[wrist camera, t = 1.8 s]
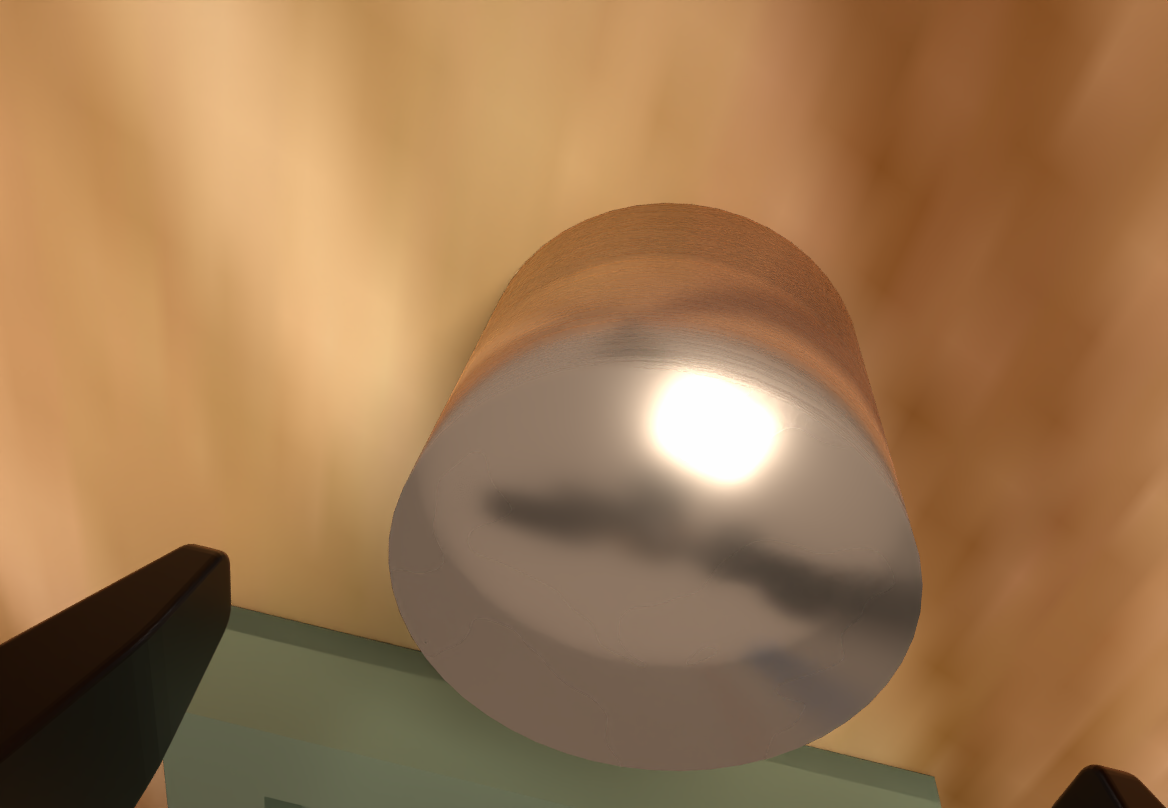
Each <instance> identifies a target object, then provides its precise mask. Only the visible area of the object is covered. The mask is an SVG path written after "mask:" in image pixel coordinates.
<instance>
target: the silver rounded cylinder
mask: <svg viewBox="0 0 1168 808" xmlns="http://www.w3.org/2000/svg"><path fill="white" fill-rule="evenodd" d="M389 569H390V576H391V583H392V589H393V592H394V595H395V598H396V602H397V605H398V608H399V611H400V614H401V616H402V618H403V620H404V622H405V624H406V626H407V628H408V630H409V632H410V634H411V637H412V638H413V640H414V641H415V643H416V644H417V646H418V647H419V649H420V650H421V652H422V653H423V655H424V656H425V658H426V659H427V660H428V661H429V662H430V664H431V665H432V666H433V667H434V668H435V669H436V671H437V672H438V673H439V674H440V675H441V676H442V678H443V679H444V680H445V681H446V682H447V683H448V684H450V685H451V686H452V687H453V688H454V689H455V690H456V691H457V692H458V693H459V694H460V695H461V696H462V697H464V698H465V699H466V700H467V701H469V702H470V703H471V704H473V705H474V706H475V707H477V708H478V709H479V710H481V711H482V712H483V713H485V714H486V715H488V716H489V717H491V718H493V719H494V720H496V721H498V722H499V723H501V724H502V725H504V726H506V727H507V728H509V729H511V730H513V731H515V732H517V733H519V734H521V735H523V736H525V737H527V738H529V739H531V740H533V741H535V742H537V743H540V744H543V745H545V746H548V747H551V748H553V749H556V750H558V751H561V752H564V753H567V754H570V755H574V756H577V757H581V758H584V759H588V760H591V761H595V762H600V763H605V764H610V765H615V766H620V767H628V768H637V769H645V770H661V771H693V770H711V769H718V768H725V767H732V766H739V765H744V764H748V763H752V762H756V761H761V760H765V759H769V758H772V757H775V756H778V755H781V754H783V753H786V752H789V751H792V750H795V749H798V748H800V747H802V746H804V745H806V744H808V743H810V742H812V741H815V740H817V739H819V738H821V737H823V736H825V735H826V734H828V733H829V732H831V731H833V730H834V729H836V728H837V727H839V726H841V725H842V724H844V723H845V722H847V721H848V720H850V719H851V718H852V717H853V716H854V715H856V714H857V713H858V712H859V711H861V710H862V709H863V708H864V707H866V706H867V705H868V704H869V703H870V702H871V701H872V700H873V699H874V698H875V697H876V695H877V694H878V693H879V692H880V691H881V690H882V689H883V688H884V687H885V686H886V685H887V683H888V682H889V681H890V679H891V678H892V676H893V675H894V673H895V672H896V670H897V669H898V667H899V666H900V664H901V663H902V661H903V659H904V657H905V655H906V653H907V650H908V648H909V646H910V644H911V642H912V640H913V637H914V634H915V630H916V626H917V622H918V619H919V615H920V609H921V597H922V576H921V566H920V557H919V553H918V550H917V546H916V543H915V539H914V536H913V532H912V529H911V525H910V522H909V519H908V515H907V512H906V508H905V505H904V501H903V498H902V494H901V491H900V487H899V484H898V480H897V477H896V473H895V470H894V466H893V463H892V459H891V456H890V452H889V449H888V445H887V442H886V438H885V435H884V431H883V428H882V424H881V421H880V417H879V414H878V410H877V407H876V404H875V400H874V397H873V393H872V390H871V386H870V383H869V379H868V376H867V372H866V369H865V365H864V362H863V358H862V355H861V351H860V348H859V344H858V341H857V337H856V334H855V330H854V327H853V324H852V320H851V318H850V315H849V313H848V311H847V309H846V307H845V305H844V303H843V300H842V298H841V297H840V295H839V294H838V292H837V291H836V289H835V288H834V286H833V284H832V283H831V281H830V280H829V278H828V277H827V276H826V275H825V274H824V273H823V272H822V270H821V269H820V268H819V267H818V266H817V265H816V264H815V263H814V261H813V260H812V259H811V258H810V257H808V256H807V255H806V254H805V253H804V252H802V251H801V250H800V249H799V248H798V247H796V246H795V245H794V244H793V243H792V242H790V241H789V240H787V239H786V238H784V237H782V236H781V235H779V234H778V233H776V232H774V231H773V230H771V229H770V228H768V227H765V226H763V225H761V224H759V223H757V222H755V221H752V220H750V219H748V218H746V217H743V216H740V215H737V214H733V213H730V212H727V211H724V210H720V209H716V208H710V207H705V206H699V205H693V204H674V203H659V204H647V205H636V206H631V207H627V208H622V209H618V210H613V211H609V212H606V213H604V214H601V215H598V216H595V217H592V218H590V219H587V220H585V221H583V222H581V223H579V224H577V225H575V226H573V227H571V228H569V229H567V230H565V231H563V232H562V233H560V234H559V235H558V236H556V237H555V238H553V239H552V240H550V241H549V242H548V243H546V244H545V245H543V246H542V247H541V248H540V249H539V250H538V251H537V252H536V253H535V254H534V255H533V256H532V257H530V258H529V259H528V260H527V261H526V262H525V263H524V265H523V266H522V267H521V268H520V270H519V271H518V272H517V273H516V275H515V276H514V277H513V278H512V280H511V281H510V283H509V285H508V286H507V288H506V290H505V291H504V293H503V295H502V297H501V298H500V300H499V302H498V304H497V306H496V308H495V310H494V312H493V314H492V316H491V318H490V320H489V322H488V323H487V325H486V327H485V329H484V331H483V333H482V335H481V337H480V339H479V341H478V343H477V345H476V347H475V349H474V351H473V353H472V355H471V357H470V359H469V361H468V363H467V364H466V366H465V368H464V370H463V372H462V374H461V376H460V378H459V380H458V382H457V384H456V386H455V388H454V390H453V392H452V394H451V396H450V398H449V400H448V402H447V404H446V405H445V407H444V409H443V411H442V413H441V415H440V417H439V419H438V421H437V423H436V425H435V427H434V429H433V431H432V433H431V435H430V437H429V439H428V441H427V443H426V445H425V446H424V448H423V450H422V452H421V454H420V456H419V458H418V460H417V462H416V464H415V466H414V468H413V470H412V472H411V474H410V476H409V478H408V480H407V482H406V484H405V486H404V487H403V490H402V493H401V495H400V498H399V501H398V503H397V506H396V508H395V511H394V515H393V520H392V525H391V531H390V536H389Z"/></svg>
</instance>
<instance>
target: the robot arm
mask: <svg viewBox="0 0 1168 808" xmlns="http://www.w3.org/2000/svg"><path fill="white" fill-rule="evenodd" d="M230 613H231V583H230V561H229V557H228V555H227V554H226V553H225V552H223V551H220V550H216V549H212V548H208V547H204V546H200V545H196V544H187V545H184V546H181V547H179V548H177V549H175V550H174V551H172V552H170V553H168V554H166V555H164V556H163V557H161V558H159V559H157V560H155V561H153V562H151V563H150V564H148V565H146V566H144V567H142V568H140V569H139V570H137V571H135V572H133V573H131V574H129V575H128V576H126V577H124V578H122V579H120V580H118V581H116V582H115V583H113V584H111V585H109V586H107V587H105V588H104V589H102V590H100V591H98V592H96V593H94V594H92V595H91V596H89V597H87V598H85V599H83V600H81V601H80V602H78V603H76V604H74V605H72V606H70V607H68V608H67V609H65V610H63V611H61V612H59V613H57V614H56V615H54V616H52V617H50V618H48V619H46V620H45V621H43V622H41V623H39V624H37V625H35V626H33V627H32V628H30V629H28V630H26V631H24V632H22V633H21V634H19V635H17V636H15V637H13V638H11V639H9V640H8V641H6V642H4V643H2V644H0V808H134V807H135V806H136V804H137V802H138V801H139V799H140V798H141V796H142V794H143V793H144V791H145V790H146V788H147V786H148V785H149V783H150V781H151V779H152V778H153V776H154V774H155V773H156V771H157V769H158V767H159V766H160V764H161V762H162V760H163V758H164V756H165V754H166V752H167V750H168V748H169V746H170V744H171V742H172V740H173V738H174V736H175V734H176V732H177V730H178V728H179V726H180V724H181V722H182V720H183V717H184V715H185V713H186V711H187V709H188V707H189V705H190V703H191V701H192V699H193V697H194V695H195V692H196V690H197V688H198V686H199V684H200V682H201V680H202V678H203V676H204V674H205V672H206V670H207V668H208V665H209V663H210V661H211V659H212V657H213V655H214V653H215V651H216V649H217V647H218V645H219V643H220V640H221V638H222V636H223V634H224V632H225V630H226V627H227V624H228V622H229V618H230ZM1052 808H1166V807H1165V806H1164V805H1163V804H1162V803H1161V802H1160V801H1159V800H1158V799H1157V798H1156V797H1155V796H1154V795H1153V794H1152V793H1151V791H1150V790H1149V789H1148V788H1147V787H1146V786H1145V785H1144V784H1143V783H1142V782H1141V781H1140V780H1139V779H1138V778H1137V777H1135V776H1134V775H1132V774H1130V773H1128V772H1124V771H1120V770H1116V769H1112V768H1108V767H1104V766H1100V765H1090V766H1087V767H1085V768H1083V769H1082V770H1081V771H1080V773H1079V774H1078V775H1077V776H1076V778H1075V779H1074V780H1073V781H1072V782H1071V784H1070V785H1069V786H1068V787H1067V789H1066V790H1065V791H1064V792H1063V794H1062V795H1061V796H1060V797H1059V799H1058V800H1057V801H1056V802H1055V803H1054V805H1053V806H1052Z"/></svg>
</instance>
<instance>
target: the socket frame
mask: <svg viewBox="0 0 1168 808" xmlns="http://www.w3.org/2000/svg"><path fill="white" fill-rule="evenodd" d="M163 763H164V773H165V783H166V794H167V804H168V808H941V804H940V800H939V795H938V791H937V787H936V782H935V778H934V777H933V776H929V775H925V774H920V773H916V772H912V771H908V770H904V769H900V768H896V767H892V766H888V765H883V764H879V763H875V762H871V761H867V760H863V759H859V758H855V757H851V756H847V755H842V754H838V753H834V752H830V751H826V750H822V749H818V748H814V747H810V746H805V745H804V746H802V747H800V748H798V749H795V750H792V751H789V752H786V753H783V754H781V755H778V756H775V757H772V758H769V759H765V760H761V761H756V762H752V763H748V764H744V765H739V766H732V767H725V768H718V769H711V770H693V771H661V770H645V769H637V768H628V767H620V766H615V765H610V764H605V763H600V762H595V761H591V760H588V759H584V758H581V757H577V756H574V755H570V754H567V753H564V752H561V751H558V750H556V749H553V748H551V747H548V746H545V745H543V744H540V743H537V742H535V741H533V740H531V739H529V738H527V737H525V736H523V735H521V734H519V733H517V732H515V731H513V730H511V729H509V728H507V727H506V726H504V725H502V724H501V723H499V722H498V721H496V720H494V719H493V718H491V717H489V716H488V715H486V714H485V713H483V712H482V711H481V710H479V709H478V708H477V707H475V706H474V705H473V704H471V703H470V702H469V701H467V700H466V699H465V698H464V697H462V696H461V695H460V694H459V693H458V692H457V691H456V690H455V689H454V688H453V687H452V686H451V685H450V684H448V683H447V682H446V681H445V680H444V679H443V678H442V676H441V675H440V674H439V673H438V672H437V671H436V669H435V668H434V667H433V666H432V665H431V664H430V662H429V661H428V660H427V659H426V658H425V656H424V655H423V653H422V652H420V651H416V650H412V649H407V648H403V647H399V646H395V645H391V644H387V643H383V642H379V641H375V640H370V639H366V638H362V637H358V636H354V635H350V634H346V633H342V632H338V631H334V630H329V629H325V628H321V627H317V626H313V625H309V624H305V623H301V622H297V621H293V620H288V619H284V618H280V617H276V616H272V615H268V614H264V613H260V612H256V611H251V610H247V609H243V608H239V607H235V606H231V613H230V618H229V622H228V624H227V627H226V630H225V632H224V634H223V636H222V638H221V640H220V643H219V645H218V647H217V649H216V651H215V653H214V655H213V657H212V659H211V661H210V663H209V665H208V668H207V670H206V672H205V674H204V676H203V678H202V680H201V682H200V684H199V686H198V688H197V690H196V692H195V695H194V697H193V699H192V701H191V703H190V705H189V707H188V709H187V711H186V713H185V715H184V717H183V720H182V722H181V724H180V726H179V728H178V730H177V732H176V734H175V736H174V738H173V740H172V742H171V744H170V746H169V748H168V750H167V752H166V754H165V756H164V758H163Z"/></svg>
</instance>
